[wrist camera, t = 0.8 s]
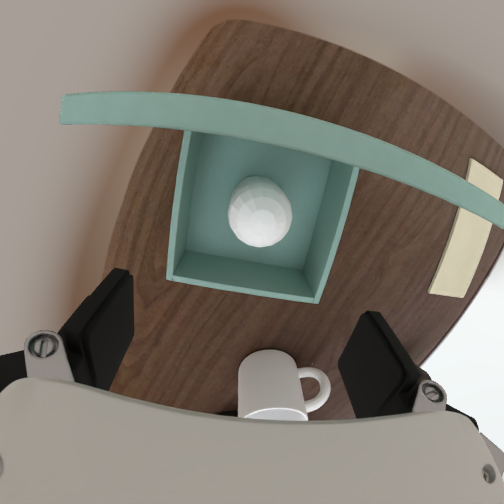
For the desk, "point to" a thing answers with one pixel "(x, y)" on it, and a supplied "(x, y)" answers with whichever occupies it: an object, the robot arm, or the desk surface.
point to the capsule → (259, 212)
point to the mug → (276, 387)
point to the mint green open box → (224, 239)
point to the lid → (278, 137)
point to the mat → (465, 239)
